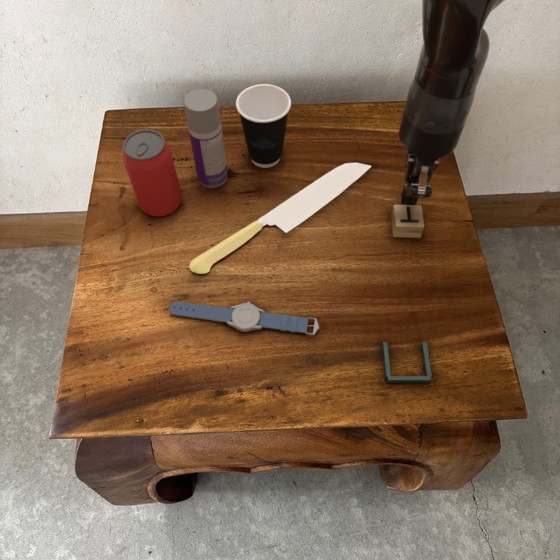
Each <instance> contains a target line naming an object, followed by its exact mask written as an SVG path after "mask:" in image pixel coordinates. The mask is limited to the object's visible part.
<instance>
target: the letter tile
mask: <svg viewBox="0 0 560 560" xmlns="http://www.w3.org/2000/svg"><path fill="white" fill-rule="evenodd" d="M390 220H391V221H390V222H391V231H392V237H393V238H414V239H416V238H417V239H421V238H422V235H423V232H424V229H425V223H424V214H423V206H422V205H421V204H416V205H402V204H393V207H392V209H391V214H390Z"/></svg>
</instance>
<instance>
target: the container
mask: <svg viewBox="0 0 560 560" xmlns="http://www.w3.org/2000/svg"><path fill="white" fill-rule="evenodd" d="M218 101H219V100H218V96H217V94H216V93H215V92H214V91H212V90H210V89H207V88H196V89H193V90H191V91H188V93H186V94H185V96H184V98H183V104H184V111H185V118H186V124H187V129H188V130H187V131H188V135H189V140H190V145H191V150H192V155H193V160H194V166H195V171H196V177H197V181H198V182H199V184H200V185H201V186H203V187H204V188H209V189H216V188H219V187H221V186H223V185H224V184H225V183H226V182H227V180H228V176H229V175H228V167H227V158H226V150H225V144H224V134H223V127H222V120H221V113H220V108H219V103H218Z"/></svg>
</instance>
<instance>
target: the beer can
mask: <svg viewBox="0 0 560 560" xmlns="http://www.w3.org/2000/svg"><path fill="white" fill-rule="evenodd" d="M122 159H123V165H124V168H125V170H126V173H127V176H128V178H129V181H130V184H131V188H132V190H133V193H134V196H135V198H136V202H137V204H138V206H139V208H140V210H141V211H142V212H144V213H145V214H146V215H149V216H151V217H164V216H169V215H170V214H173V212H175V211H176V210H177V209H178V208H179V207H180V205H181V203H182V199H183V196H182V195H183V194H182V191H181V190H182V189H181V186H180V182H179V178H178V174H177V170H176V169H177V168H176V165H175V161H174V157H173V153H172V149H171V147H170V145H169V144H168V142H167V141H166V140H165V137H164V136H163V135H162V134H161V133H160V132H158V131H157V130H153V129H146V128H145V129H140V130H136V131H134V132H131V134H129V135H127V137H126V138H125V140H124V141H123V144H122Z"/></svg>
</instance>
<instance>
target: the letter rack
mask: <svg viewBox="0 0 560 560" xmlns="http://www.w3.org/2000/svg"><path fill="white" fill-rule="evenodd" d="M420 350H421V358H422V364H423V373H424V375H392V371H391V362H390V351H389V344H388V341H382V344H381V353H382V363H383V371H384V372H383V373H384V380H386V383H387V384H430V383H431V382H432V378H433V374H432V368H431V361H430V353H429V346H428V341H422V342H421V344H420Z"/></svg>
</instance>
